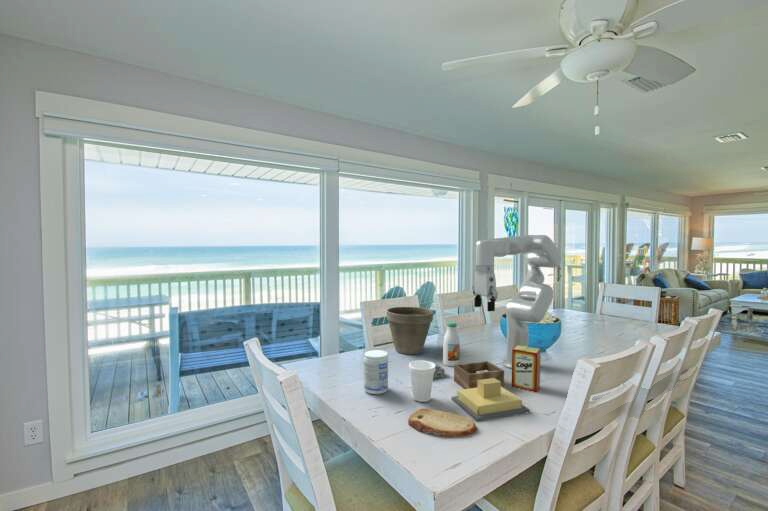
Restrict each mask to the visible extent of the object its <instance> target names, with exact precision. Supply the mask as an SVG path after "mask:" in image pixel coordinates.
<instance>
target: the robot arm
mask: <svg viewBox="0 0 768 511" xmlns="http://www.w3.org/2000/svg"><path fill="white" fill-rule="evenodd" d="M522 254H525V258H524V259H525V265H526V275H525V277H524V279H523V281H522V282H521V284H520V286H519V288H518V290H517V297H518V298H512V299H509V300H508V301H506V304H505V306H504V310H505V315H506V317H505V318H506V359H504V360H503V362H502V365H503V366H505V367H506V368H507V369H511V370H512V349H513V348H514V347H515V346H516V345H520V346H528V347H529V331H530V330H529V326H528V324H527V323H528V322H529V323H534V324H538V323H541V322H542V321H543V319H544V318H545V315H546V314H547V312H548V311H549V308H550V306H551V304H552V302H553V300H554V299H553V298H554V290H553V287H552V286H550V285H549V284H546V283H545V275H544V273H543V271H542V270H541V268H549V269H550V268H552V269H553V268H554V269H555V268H559V267H560V265H561V263H562V261H563V260H562V254H561V252H560V250H559V249H558V247H557V246H556V244H555V243H554V241H553V240H552V239H551V237H549V236H548V235H546V234H525V235H516V236H515V235H514V236H507V237H505V236H504V237H498V238H487V239H481V240H477V241H476V243H475V275H474V284H473V286H472V287H471V289H472V294H473V298H474V303H473V305H474V308H480V307H482V297H486V298H487V300H488V301H487V304H486V305H487V309H486V310H487V312H495V310H496V301H497V299H498V294H499V292H498V291H497V281H496V280H497V279H496V273H495V272H494V270H495V258H503V257H506V256H514V255H516V256H517V255H522Z"/></svg>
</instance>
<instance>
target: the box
mask: <svg viewBox="0 0 768 511" xmlns="http://www.w3.org/2000/svg"><path fill="white" fill-rule="evenodd" d="M490 378H495V379H497V380H498V381H500V382H501V387H503V388H504V389H505V386H504V385H505V370H504V369H503V368H500V367H498V366H497V365H495V364H493V363H491V362H490V361H488V360H485V361H475V362H466V363H459V364H456V365H454V366H453V382H454V383H456V385H458V386H459V387H461V388H462V389H470V388H477V380H482V379H490Z"/></svg>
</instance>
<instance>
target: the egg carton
mask: <svg viewBox="0 0 768 511" xmlns="http://www.w3.org/2000/svg"><path fill="white" fill-rule="evenodd" d="M435 365H436V369H435V372H434V375H433V379H438V378H444V376H445V373H446V370H445V369H444V368H443V367H442V366H440V364H435Z"/></svg>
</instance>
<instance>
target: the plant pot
mask: <svg viewBox="0 0 768 511" xmlns="http://www.w3.org/2000/svg"><path fill="white" fill-rule="evenodd" d="M386 320H387V321H388V324H389V329H390V334H391V337H392V342H393V346H394V348H395V349H394V350H395V352H397V353H400V354H405V355H416V354H420V353H422V352H423V349H424V347H425V345H426V344H425V343H426V341H427V337H428V334H429V330H430V327H431V323H432V322H433V320H434V311H433V310H432V309H429V308H425V307H419V306H394V307H390V308H387V310H386Z"/></svg>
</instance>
